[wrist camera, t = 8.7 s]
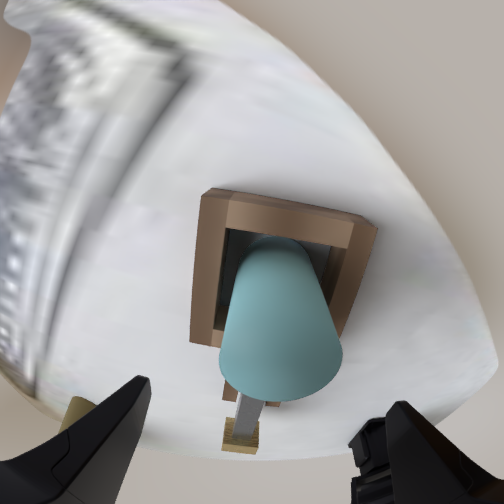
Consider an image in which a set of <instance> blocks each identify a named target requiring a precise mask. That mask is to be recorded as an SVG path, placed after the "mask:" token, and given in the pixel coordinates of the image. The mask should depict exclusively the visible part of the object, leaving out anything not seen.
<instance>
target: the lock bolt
mask: <svg viewBox="0 0 504 504" xmlns="http://www.w3.org/2000/svg"><path fill="white" fill-rule="evenodd" d="M263 404H264V400H259V399H255V398H252V397H249V396H247V395H244V394H242V393H241V394H240V398H239V402H238V407H237V411H236V415H235V418H230V417H226V421H225V427H224V434H223V441H222V449H221V450H222V451H229V452H236V453H245V454H256V452H257V450H258V444H259V421H258V419H259V416H260V413H261V410H262V407H263Z"/></svg>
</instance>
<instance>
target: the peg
mask: <svg viewBox="0 0 504 504" xmlns="http://www.w3.org/2000/svg"><path fill="white" fill-rule="evenodd" d="M342 354H343V353H342V347H341V344H340V341H339V338H338V335H337V332H336V329H335V326H334V323H333V320H332V318H331V315H330V312H329V309H328V306H327V304H326V301H325V298H324V295H323V293H322V290H321V287H320V285H319V282H318V279H317V277H316V274H315V271H314V269H313V266H312V264H311V261H310V259H309V256H308V254H307V252H306V251H305V250H304V248H303V247H302V246H301V245H300V244H298V243H297V242H295V241H294V240H292V239H289V238H285V237H280V236H269V237H265V238H261V239H259V240H257V241H255V242H253V243H252V244H251V245H250V246H249V247H248V248H247V249H246V250H245V251H244V252H243V254H242V256H241V258H240V261H239V265H238V270H237V274H236V279H235V284H234V288H233V293H232V298H231V302H230V307H229V312H228V316H227V321H226V326H225V330H224V335H223V340H222V345H221V350H220V354H219V366H220V370H221V372H222V374H223V376H224V378H225V379H226V381H227V382H228V383H229V384H230V385H231V386H232V387H233V388H235V389H236V390H237V391H239V392H241V393H242V394H244V395H247V396H249V397H252V398H255V399H259V400H264V401H273V402H282V401H291V400H296V399H300V398H303V397H306V396H309V395H311V394H313V393H315V392H317V391H319V390H320V389H322V388H323V387H324V386H326V385H327V384H328V383H329V382H330V381H331V380H332V379H333V378H334V376H335V375H336V374H337V372H338V370H339V368H340V366H341V362H342Z"/></svg>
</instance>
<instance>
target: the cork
mask: <svg viewBox="0 0 504 504" xmlns="http://www.w3.org/2000/svg"><path fill="white" fill-rule="evenodd" d="M95 407H96V405H95V404H93V403H92V402H90V401H88V400H86V399H84V398H82V397H77V396H75V397H73V398H72V400H71V402H70V404H69V407H68V409H67V412H66V414H65V417H64V420H63V422H62V425H61V428H60V430H59V433H60V432H62V431H63V430H65V429H66V428H67V429H68V427H69V426H70V425H72V424H73V423H74V422H76V421H77V420H78V419H80V418H81V417H82V416H84V415H85V414H86V413H88V412H89V411H91V410H92V409H93V408H95ZM59 433H58V434H59Z"/></svg>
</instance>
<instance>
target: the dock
mask: <svg viewBox="0 0 504 504" xmlns="http://www.w3.org/2000/svg"><path fill="white" fill-rule="evenodd" d="M230 228H232V229H239V230H245V231H250V232H256V233H262V234H268V235H274V236H280V237H285V238H291V239H297V240H302V241H308V242H313V243H319V244H324V245H330V246H331V249H330V253H329V256H328V260H327V264H326V267H325V271H324V274H323V278H322V281H321V284H320V287H321V290H322V293H323V295H324V298H325V301H326V304H327V306H328V309H329V312H330V315H331V318H332V320H333V323H334V326H335V329H336V332H337V335H338V338H340V336H341V333H342V331H343V328H344V326H345V323H346V321H347V318H348V316H349V313H350V311H351V308H352V305H353V303H354V300H355V297H356V295H357V292H358V289H359V286H360V283H361V280H362V278H363V275H364V272H365V269H366V266H367V262H368V259H369V256H370V253H371V250H372V246H373V243H374V240H375V236H376V233H377V229H378V228H376V227H375V226H374V225H372V224H371V223H370V222H369V221H367V220H366V219H365V218H363V217H362V216H360V215H356V214H351V213H347V212H342V211H338V210H333V209H328V208H324V207H319V206H314V205H309V204H304V203H299V202H293V201H288V200H283V199H277V198H272V197H266V196H260V195H254V194H248V193H242V192H236V191H229V190H223V189H216V188H211V189H210V190H208V191H207V192H206V193H204V194H203V195H202V196H201V202H200V211H199V220H198V229H197V239H196V250H195V261H194V273H193V286H192V301H191V319H190V340H189V342H192V343H197V344H202V345H207V346H212V347H218V348H221V345H222V340H223V335H224V330H225V326H226V321H227V316H228V312H229V306H223V305H220V297H221V289H222V282H223V274H224V267H225V259H226V252H227V245H228V238H229V231H230ZM237 394H238V391H237V390H236V389H235V388H233V387H232V386H231V385H230V384H229V383H228V382H227V381H226V379H225V385H224V391H223V398H222V400H226V401H232V402H236V399H237ZM280 403H281V402H273V401H266V406H274V407H279V405H280Z"/></svg>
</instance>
